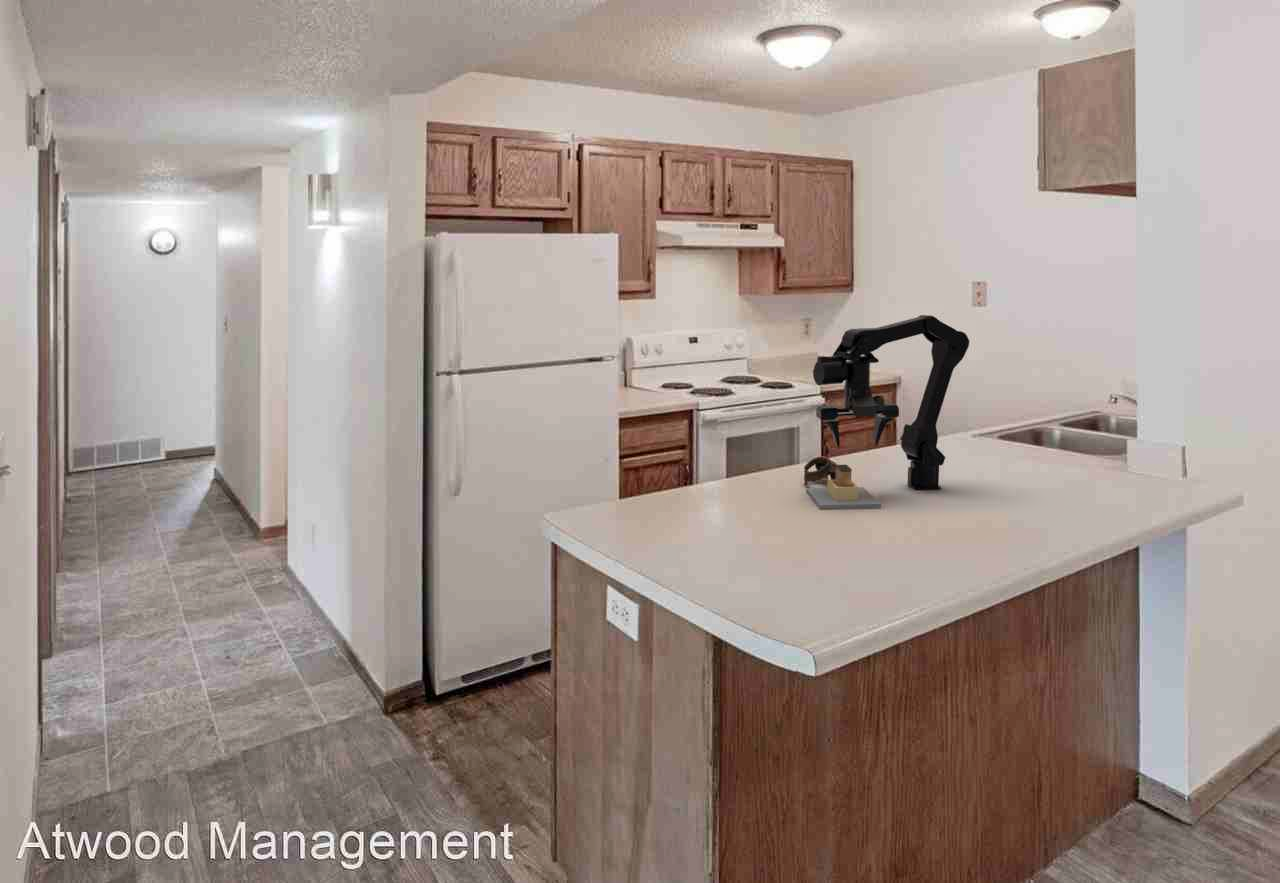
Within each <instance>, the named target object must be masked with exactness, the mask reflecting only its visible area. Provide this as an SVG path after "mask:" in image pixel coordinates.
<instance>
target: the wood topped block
mask: <svg viewBox="0 0 1280 883" xmlns="http://www.w3.org/2000/svg"><path fill="white" fill-rule="evenodd" d="M852 470H853V469H852V468H851V467H850V466H849V465H848V464H837V465H836V480H835V484H836V486H837V487H851V481H852Z"/></svg>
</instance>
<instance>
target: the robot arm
mask: <svg viewBox="0 0 1280 883" xmlns="http://www.w3.org/2000/svg"><path fill="white" fill-rule="evenodd" d="M921 334H922V335H923V337H924V338H925V339H926V340H927V341H928V342H929V343H931V344H932V346H931V351H930V352H931V357H932V367H931V370H930V373H929V377H928V379H927V383H926V386H925V389H924V393H923V395H922V399H921V402H920V405H919V408H918V412H917V415H916V418H915V420H914V421H913V422H912V423H911V424H907V423H905V424H904V426H903V432H902V434H901V436H900V438H899V440H900V441H901V443H900V444H901V445H900V446H901V448H902V451H903V452H904V453H905V456H906V458H907V460H908V461H910V462H909V463H910V464H909V466H910V467H907V485H909V486H910V487H911V488H913V490H941V488H942V486H940V485H939V480H940V466H943V465H944V462H945V461H946V455H944V454H943V453H942V451H941V450H939V448H937V445H938V438H939V436H938V431H937V430H938V428H937V423H938V419H939V417H940V413H941V410H942V407H943V404H944V400H945V397H946V394H947V391H948V388H949V385H950V381H951V378H952V376H953V371H954V370H955V368H956V367H957V366H958V364H960V362H961V361H962V360H963V359H964V357H965V355H966V353H967V351H968V349H969V346H970V339H969V337H968V335H967V334H966V333H965V332H963V331H959V330H956V329H955V328H954V327H952V326H950V325H948V324H946V323H944V322H942V321H941V320H940V319H938V318H937V317H935V316H934V315H929V314H928V315H927V314H922V315H921V314H920V315H918V316H917V317H914V318H909V319H905V320H901V321H897V322H894V323H890V324H887V325H882V326H878V327H867V328H865V327H862V328H851V329H848V330H845V332H844V334H843V335H842V337H841V342H840V343H839V345H838V346H837V348H836V349H835V350H834V352H833V354H832V355H830V356H824V355H820V356H818V355H817V361H816V362H815V364H814V366H813V367H814V368H813V370H812V374H813V380H814V382H815V384H816V385H818V386H829V385H841V384H843V383H844V384H845V385H844V388H843V390H844V402H843V405H844V406H843V407H837V406H835V405H833V404H826V405H824V404H822V405H821V404H820V405H818V406H817V407H816V410H815V413H816V414H815V417H816V418H817V419H819V420H821V421H822V422H824V423H825V424H827V426H828V428H829V430H830V432H831V435H832V437H833V441H834V443H835V445H836V448H837V449H838V448H840V443H841V442H840V431H839V425H840V421H839V420H838V419H837V418H838V417H839V416H840V417H844V416H845V417H846V416H854V417H855V418H857V419H862V418H871V419H872V418H874V423H873V425H874V426H873V442H874V443H873V444H874V446H875V447H877V446H878V445H879V442H880V440H881V437H882V434H883V432H884V430H885V427H886V426H887V424H888V423H889V422H890V421H893V420H894V418H899V417H900V408H899V406H898V404H896V403H893V402H890V401H888V402H887V401H886V402H885V397H884V395H874V396H873V395H872V387H871V386H870V385H871V379H870V378H871V364H874V363H875V364H876V363H879V362H880V361H879V359H878V357H875V355H874V354H873V353H872V352H875V351H877V350H879V349H880V348H881V347H883V346H884V345H886V344H889V343H892V342H896V341H900V340H903V339H907V338H911V337H915V336H919V335H921ZM844 381H845V382H844Z"/></svg>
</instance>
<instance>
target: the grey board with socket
mask: <svg viewBox="0 0 1280 883" xmlns="http://www.w3.org/2000/svg"><path fill="white" fill-rule="evenodd" d="M826 481H827V484H826V485H827V486H826V487H807V488H805V490H806V491H805V493H806V494H807V495H808V496H809V498H810V497H811V498H810V499H811V500H812V501H813V503H814V502H815V503H814V504H815V505H816V507H819V508H818V509H819V510H853V509H854V510H855V509H856V510H857V509H859V510H860V509H862V510H863V508H864V509H882V503H881V502H880V501H879V499H877V498H875V497H874V496H873V495H872V494H871V493H870V492H869V491H868V490H867V489H866V488H865V487H864V486H858V485H857V484H855V482H854V481H853V480H851V487H837V486H836V484H835V480H831V479H827V480H826Z"/></svg>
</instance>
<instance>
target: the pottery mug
mask: <svg viewBox="0 0 1280 883" xmlns="http://www.w3.org/2000/svg"><path fill="white" fill-rule="evenodd" d="M836 465H838V463H837V462H835V461H833V460H831V459H830V457H828V456H824V455H823V456H821V455H820V456H817V457H814V458H811V459H810V460H809V461H808V462H807V463H805V465H804V466H803V469H804V471H803V473H804V475H803V481H804V484H805V485H806V484H807V485H808V483H814V482H815V483H816V482H818V481H821V480H825V479H826V480H836ZM813 466H814V467H815V469H816V470H814V471H809V470H810V469H811V468H812V467H813ZM829 477H830V479H829Z"/></svg>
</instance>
